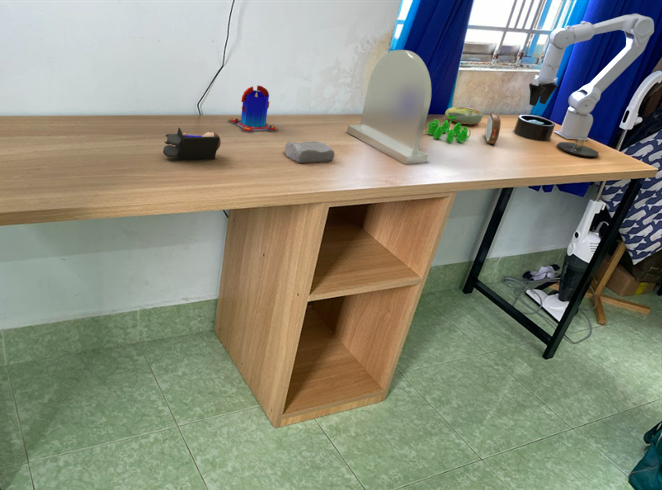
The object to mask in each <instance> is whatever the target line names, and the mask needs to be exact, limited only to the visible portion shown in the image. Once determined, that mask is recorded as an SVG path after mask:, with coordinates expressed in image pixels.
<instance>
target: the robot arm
mask: <svg viewBox="0 0 662 490" xmlns="http://www.w3.org/2000/svg"><path fill="white" fill-rule="evenodd" d="M618 30H619V31H623V32H624V34H625V39H626V41H625V43H626V44H625V47H623V49H622V50H621V51H620V52H619V53H618V54H617V55H616V56H615V57H614V58H613V59H612V60H611V61H610V62H609V63H608V64H607V65H606V66H605V67H604V68H603V69H602V70H601V71H600V72H599V73H598V74H597V75H596V76H595V77H593V79H591V81H590V82H589V83H587V84H585V85H583V86H582V87H581V88H579V89H578V90H576V91H573V92H572V93H571V95H570V96H569V97H568V105H569V107H568V108H567V111H566V114H565V116H564V119H563V121H562V124H561V126H560V129H559V130H553V133H555V134H557V135H559V136H560V137H562V138H564V139H566V140H577V139H578V138H579V137H580V138H584V139H586V141H588V135H589V133H590V131H591V128H592V126H593V124H594V123H593V122H594V117H593V114H591V113H592V112H593V110H595V109H594V108H595V107H596V104H597V103H598V102H599V101H600V99H601V96H602V95H601V94H602V93H603V92H604V91H605V90H606V89H607V88H608V87H609V86H610V85H611V84H612V83H613V82H614V81H615V80H616V79H617V78H618V77H619V76H620V75H621V74H622V73H623V72H624V71H625V70H626V69H627V68H628V67H629V66H631V64H632V63H633V62H634V61H635V60H636V59H637V58H638V57H639V56H640V55H641V54H643V52H644V51H645V49H646V47H647V44H648V42H649V40H650V38H651V36H652V35H653V34H654V32H655V23H654V19H653V18H651V17H650V16H645V15H641V14H639V13H631V14H624V15H622V16H621V15H620V16H618V17H614V18H611V19H608V20H604V21H601V22H597V23H591V22H589V21H585V20H582V21H580V23H579V24H573V25H566V26H565V28H563V27H558V28H555V29H553V31H551V33H550V34H548V42H549V44H548V47H547V49H546V52H545V55H544V57H543V61H542V63H541V66H540V70H539V72H538V75H534V78H533V81H532V82H530V83H529V85H528V86H529V87H528V88H529V103H528V104H529V106H532V107H536V106H537V104H538V103H539V104H542V105H546V103H548V101H549V99H550V97H551V95H552V94H553V93H554V92H555V90H557V89H558V88H559V85H558V84H557V82H558V79H559V78H558V77H557V74H558V71H559V68H560V66H561V63H562V60H563V57H564V55H565V51H566V48H568V47H569V46H570V45H574V44H577V43H578V44H579V43H581V42H587V41H589V40H591V39H592V38H593V37H594V35H599V34H604V33H608V32H614V31H618Z"/></svg>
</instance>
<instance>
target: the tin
mask: <svg viewBox="0 0 662 490" xmlns="http://www.w3.org/2000/svg"><path fill="white" fill-rule="evenodd" d="M501 121H502V119H501V117H500V115H499V113H498V112H497V113H495V112H490V113H489V114H488V117H487V122H486V125H485V130H484V136H485V141H486V143H487V144H490V145H496V144H497V142H498V139H499V136H500V131H501V123H502V122H501Z"/></svg>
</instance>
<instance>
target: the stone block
mask: <svg viewBox="0 0 662 490" xmlns="http://www.w3.org/2000/svg"><path fill="white" fill-rule="evenodd" d="M284 148H285V149H284V154H285V155H286V157H287V158H289V159H291V160H293V161H294V162H296V163H298V164H308V163H328V162H332V161H333V160H334V159H335V151H334V149H332V147H330V146H329V145H328V144H327V143H325V142H321V141H303V142H296V141H287V142H286V145H285V147H284Z"/></svg>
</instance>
